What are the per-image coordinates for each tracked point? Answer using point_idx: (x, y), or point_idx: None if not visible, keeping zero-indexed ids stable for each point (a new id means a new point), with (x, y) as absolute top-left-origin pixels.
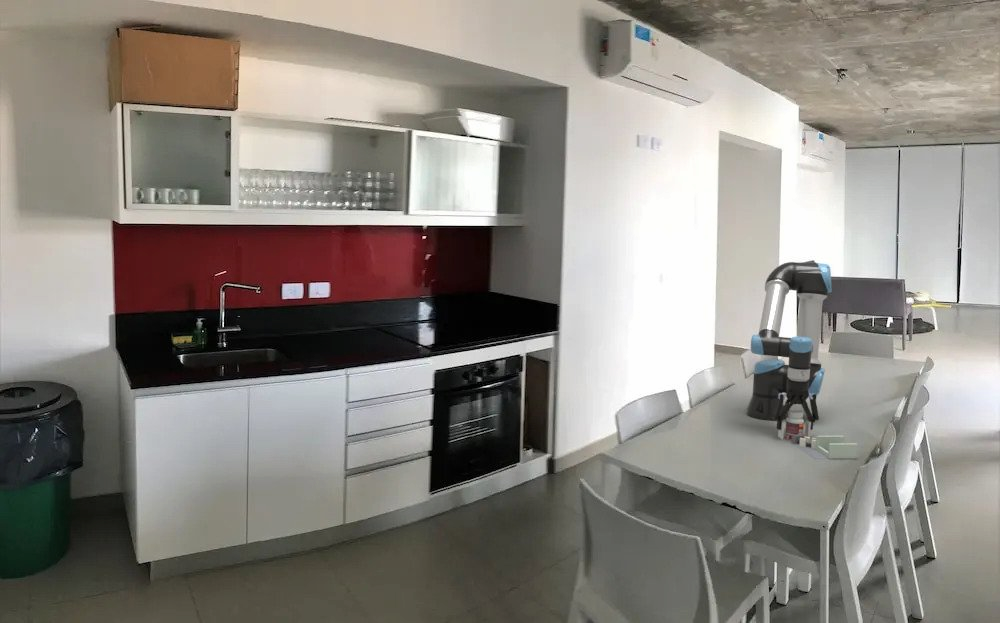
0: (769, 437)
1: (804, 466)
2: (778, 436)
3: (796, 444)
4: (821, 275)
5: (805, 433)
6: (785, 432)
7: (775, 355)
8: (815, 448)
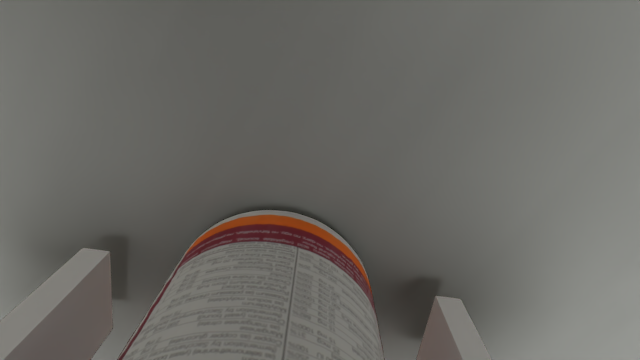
0: (31, 124)
1: None
2: (76, 264)
3: None
4: None
5: (443, 355)
6: (145, 315)
7: None
8: None
